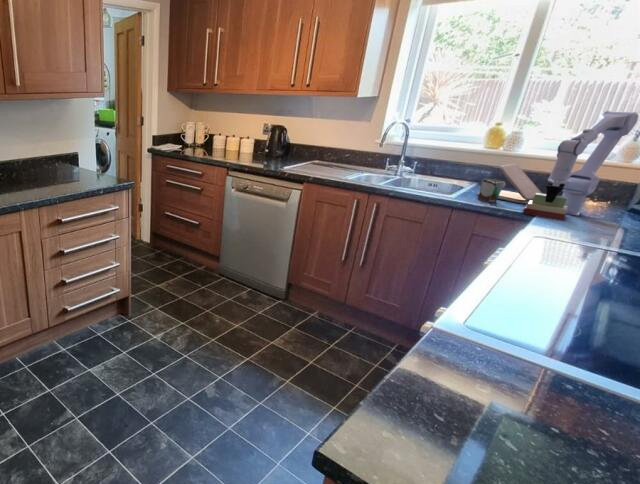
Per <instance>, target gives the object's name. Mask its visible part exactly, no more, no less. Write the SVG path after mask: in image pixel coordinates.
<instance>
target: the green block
mask: <svg viewBox="0 0 640 484" xmlns="http://www.w3.org/2000/svg"><path fill="white" fill-rule="evenodd" d="M541 193H542V192H541ZM541 193H536V194H535V196H534V199H533V201H532V203H534V204H540V205H546V206H553V207H559V208H563V207H564V205H565V202H566V200H567V197H562V195H557V196H556V198H555V199H554V201H553V202H552V203H550V202H545V200H546V194H547V193H542V194H541Z"/></svg>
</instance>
